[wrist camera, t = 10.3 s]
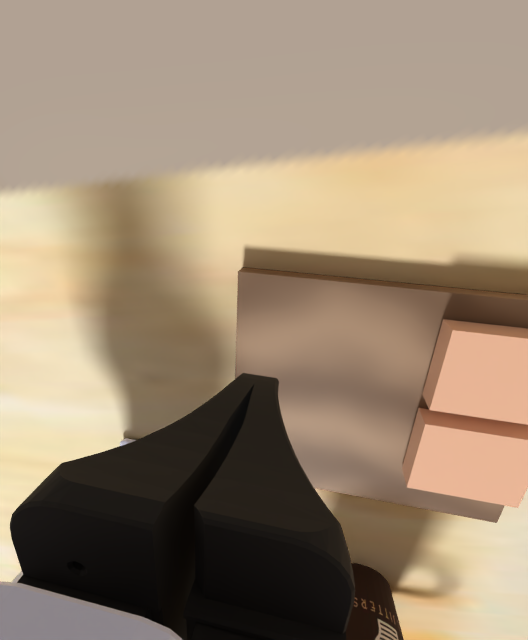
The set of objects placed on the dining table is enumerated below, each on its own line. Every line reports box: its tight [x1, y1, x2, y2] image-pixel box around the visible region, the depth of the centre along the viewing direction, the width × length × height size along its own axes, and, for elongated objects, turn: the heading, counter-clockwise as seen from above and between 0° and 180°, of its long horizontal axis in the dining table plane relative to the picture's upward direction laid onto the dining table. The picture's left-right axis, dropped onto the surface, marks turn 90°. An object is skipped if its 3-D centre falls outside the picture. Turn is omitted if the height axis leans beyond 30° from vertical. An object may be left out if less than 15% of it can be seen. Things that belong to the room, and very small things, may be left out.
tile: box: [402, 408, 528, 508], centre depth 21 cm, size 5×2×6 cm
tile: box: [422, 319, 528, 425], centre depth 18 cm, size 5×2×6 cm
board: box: [235, 267, 528, 523], centre depth 22 cm, size 16×19×1 cm
